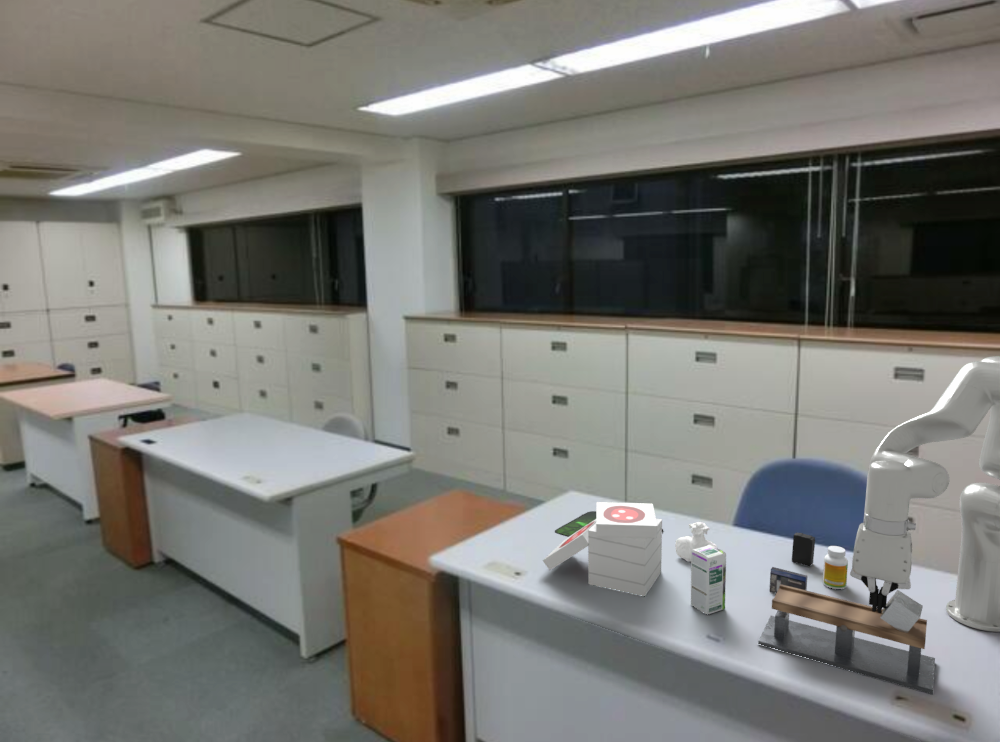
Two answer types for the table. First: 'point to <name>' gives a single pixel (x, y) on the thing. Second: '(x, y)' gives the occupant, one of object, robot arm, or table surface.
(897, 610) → the steel cube
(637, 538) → the pizza boxes
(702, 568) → the syrup box
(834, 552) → the supplement bottle
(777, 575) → the mini dv tape
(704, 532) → the white lumpy figure
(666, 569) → the table surface
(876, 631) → the beam
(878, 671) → the pivot stand
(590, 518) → the mouse mat
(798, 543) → the ink cartridge
